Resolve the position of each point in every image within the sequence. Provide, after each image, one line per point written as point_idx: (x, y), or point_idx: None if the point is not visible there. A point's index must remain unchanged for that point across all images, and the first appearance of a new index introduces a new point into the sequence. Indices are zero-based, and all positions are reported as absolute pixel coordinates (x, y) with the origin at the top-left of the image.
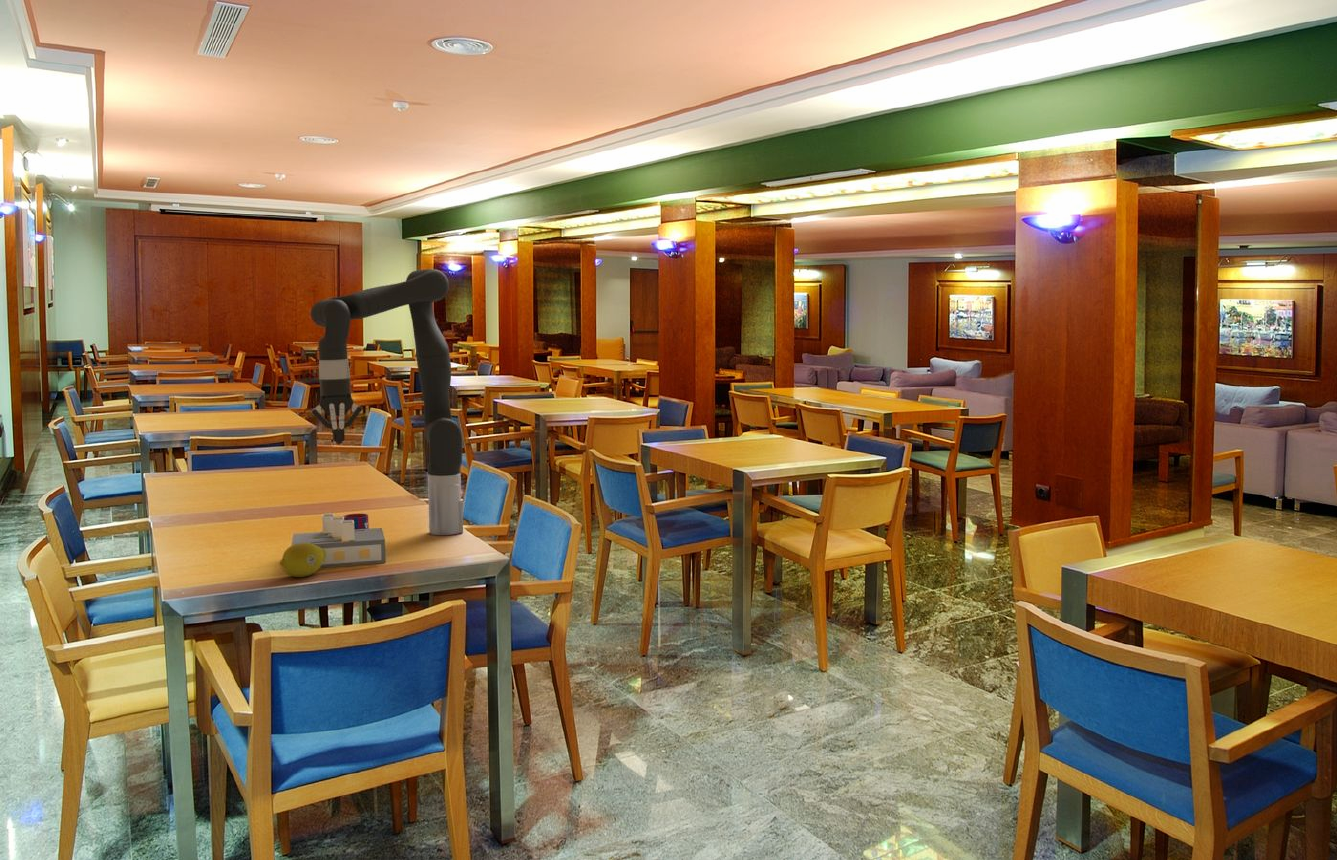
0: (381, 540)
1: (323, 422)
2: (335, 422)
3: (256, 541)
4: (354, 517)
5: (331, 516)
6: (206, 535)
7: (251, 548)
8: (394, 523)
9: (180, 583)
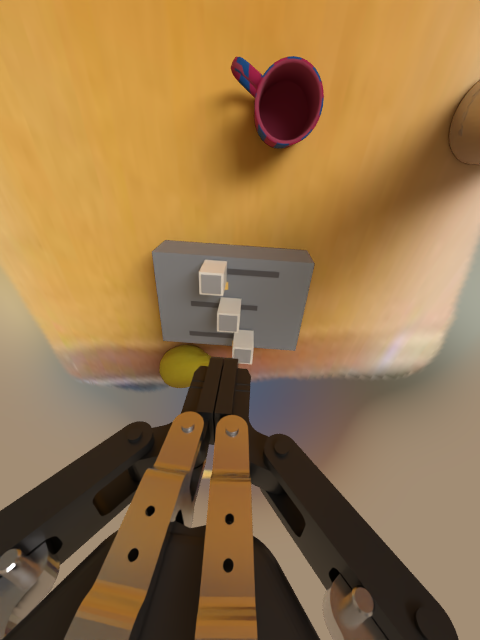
0: (290, 349)
1: (114, 491)
2: (191, 492)
3: (46, 14)
4: (289, 66)
5: (217, 294)
6: None
7: (65, 119)
8: None
9: (53, 331)
